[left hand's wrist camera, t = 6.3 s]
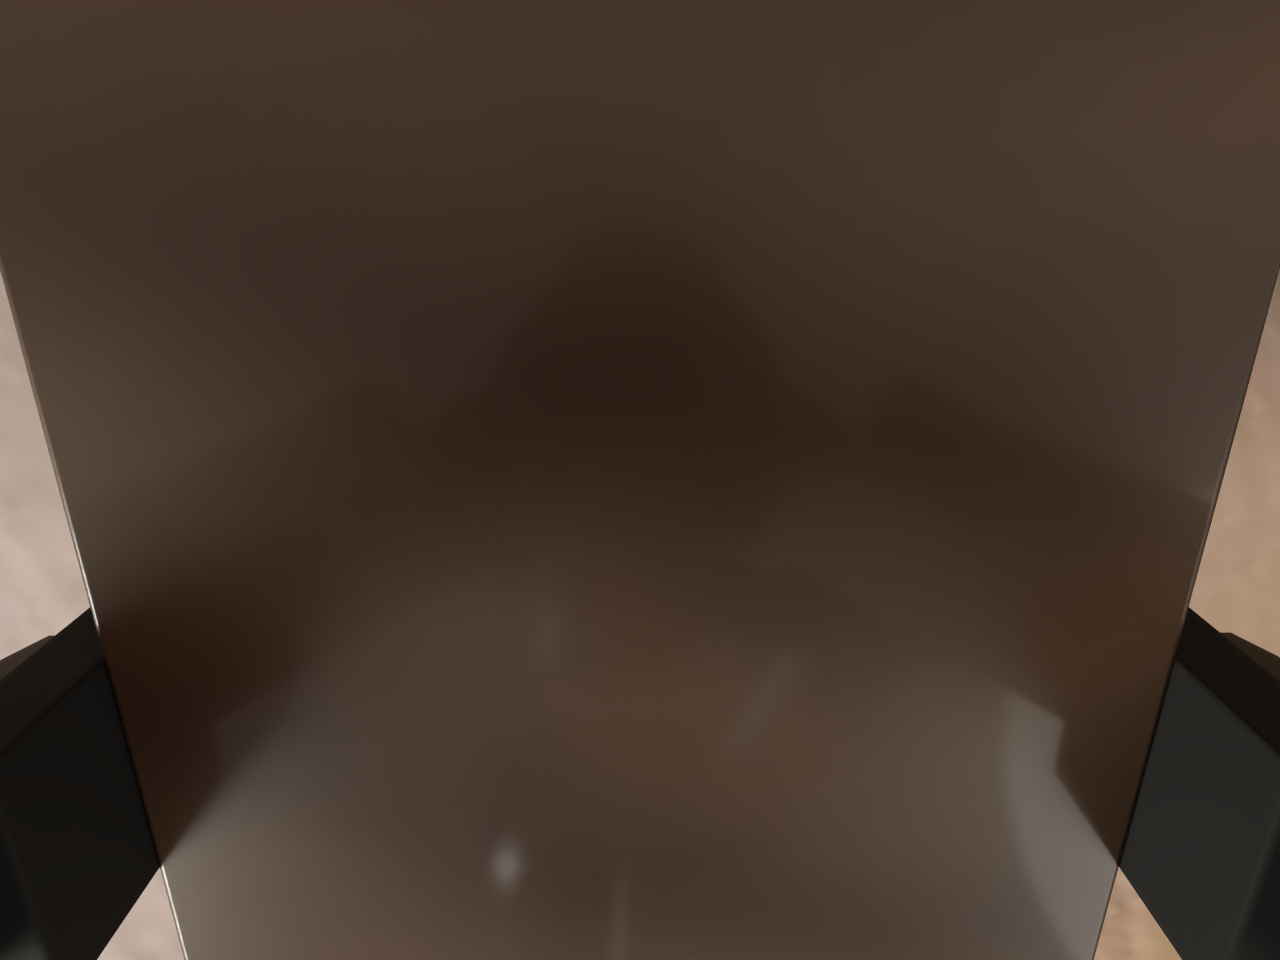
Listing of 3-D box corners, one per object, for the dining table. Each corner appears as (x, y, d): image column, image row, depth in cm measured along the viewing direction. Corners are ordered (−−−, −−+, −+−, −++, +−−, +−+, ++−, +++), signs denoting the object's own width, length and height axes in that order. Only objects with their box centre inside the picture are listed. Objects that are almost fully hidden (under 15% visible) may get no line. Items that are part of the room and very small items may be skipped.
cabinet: (319, -310, 14) (-483, -1505, 4) (958, -308, 14) (1762, -1488, 4) (416, 596, 20) (197, 1023, 10) (861, 596, 20) (1079, 1022, 10)
